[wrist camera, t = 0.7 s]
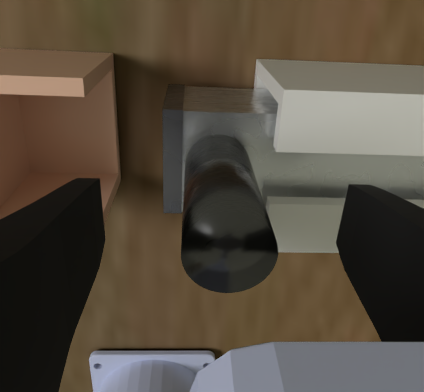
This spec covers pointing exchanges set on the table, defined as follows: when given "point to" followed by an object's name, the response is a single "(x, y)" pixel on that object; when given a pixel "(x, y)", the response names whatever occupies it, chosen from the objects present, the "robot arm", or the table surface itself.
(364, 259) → the robot arm
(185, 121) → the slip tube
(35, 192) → the socket
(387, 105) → the white channel beam
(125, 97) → the table surface
